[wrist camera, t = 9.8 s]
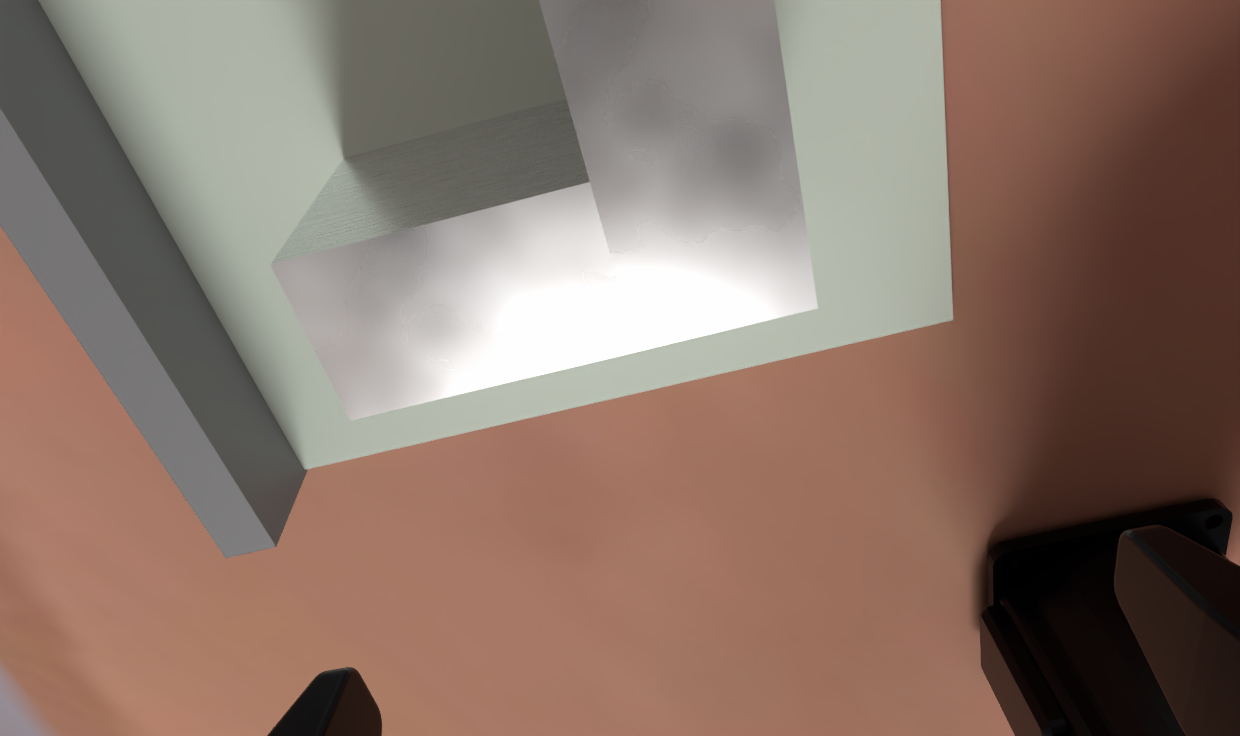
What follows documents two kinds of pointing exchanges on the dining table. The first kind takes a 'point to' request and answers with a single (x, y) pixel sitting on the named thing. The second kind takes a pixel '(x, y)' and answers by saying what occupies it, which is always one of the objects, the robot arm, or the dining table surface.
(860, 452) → the dining table surface
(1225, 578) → the robot arm
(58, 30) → the mat
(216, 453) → the corner walls
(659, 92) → the bracket
